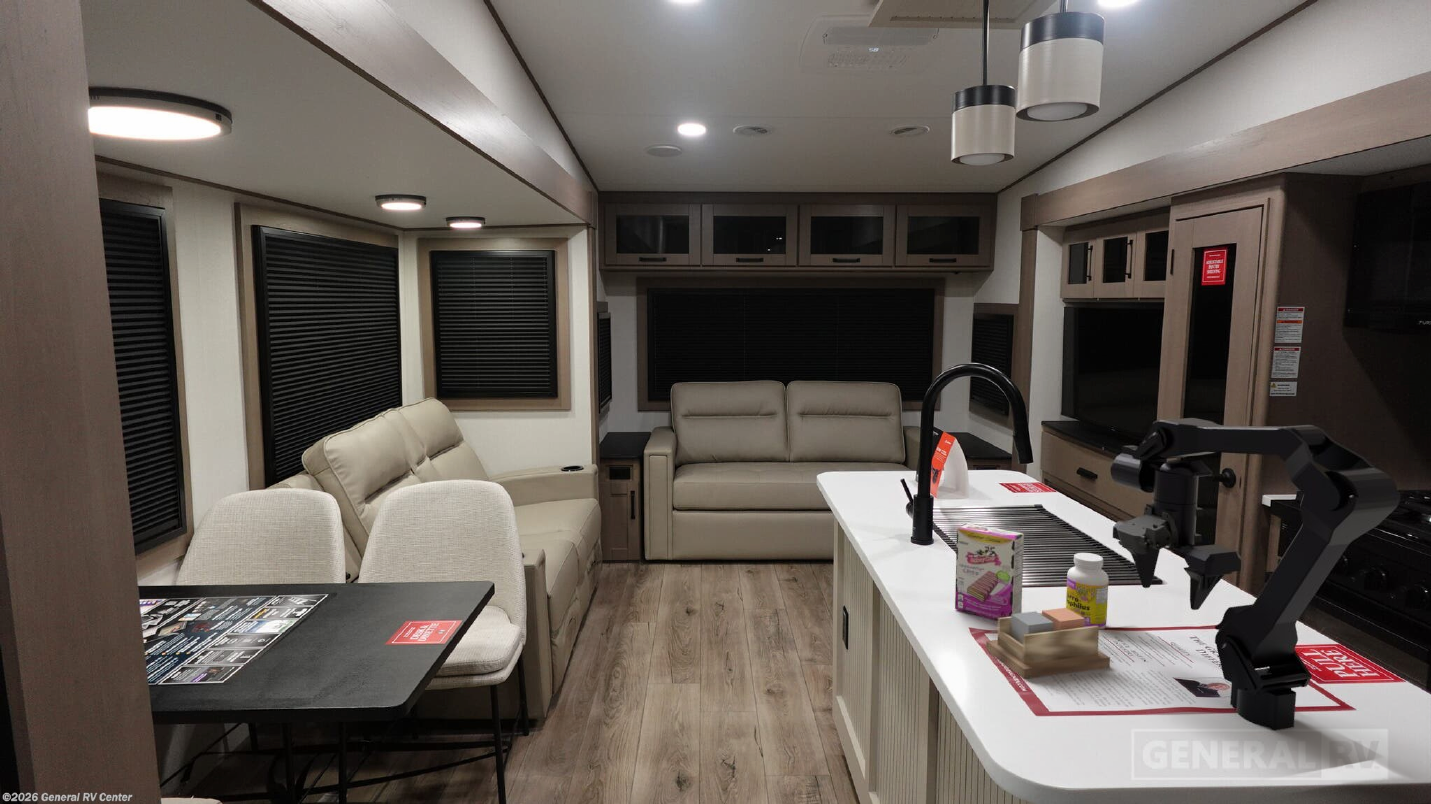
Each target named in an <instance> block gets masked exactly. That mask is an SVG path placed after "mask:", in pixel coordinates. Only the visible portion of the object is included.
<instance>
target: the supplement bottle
mask: <svg viewBox="0 0 1431 804" xmlns="http://www.w3.org/2000/svg"><path fill="white" fill-rule="evenodd" d="M1073 562H1074V566H1072V567H1071V568H1069V569H1068V571H1067V574H1066V575H1067V576H1066V599H1065V608H1067V609H1069V610H1071V611H1073V612H1074V613H1076V614H1078V615H1080V616H1081V617H1083V618H1085V627H1089V626H1098V627H1099V631H1100V630H1105V628H1106V626H1107V621H1108V619H1107V617H1108V599H1109V597H1108V595H1109V575H1108V574H1107V572H1105V571H1104V570H1103V569H1102V568H1103V566H1104V558H1103V556H1102V555H1101V556H1100V555H1099V554H1095V553H1090V552H1077V553H1075V554H1074V555H1073Z"/></svg>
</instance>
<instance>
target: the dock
mask: <svg viewBox="0 0 1431 804" xmlns="http://www.w3.org/2000/svg"><path fill="white" fill-rule="evenodd" d="M985 651H986V652H988V653H989V654H991V655H992V656H993V657H995V659H997V660H999V661H1000V662H1001V663H1003V664H1004V665H1005V666H1007V667H1008V668H1009V669H1010V670H1012V671H1013V672H1014V673H1015V674H1017V675H1018V676H1019V677H1021V678H1022V679H1024V680H1027V679H1028V680H1029V679H1034V678H1041V677H1048V676H1057V675H1063V674H1069V673H1077V672H1085V671H1092V670H1098V669H1104V668H1107V669H1108V668H1110V665H1111V657H1110V656H1108V655H1107V654H1105V653H1104V652H1102V651H1100V650H1098V654H1096V655H1089V656H1081V657H1074V658H1066V659H1059V660H1051V661H1044V662H1037V663H1029V664H1023V663H1022V662H1021V661H1019V660H1018V659H1017V658H1015V657H1014V656H1012V655H1011V654H1010V653H1008V652H1007V651H1006V650H1004V649H1003V648H1002V647H1000V646H999V645H998V639H992V640H986V648H985Z"/></svg>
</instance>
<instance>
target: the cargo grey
mask: <svg viewBox="0 0 1431 804" xmlns="http://www.w3.org/2000/svg"><path fill="white" fill-rule="evenodd" d="M1039 613H1040V612H1038V611H1027V612H1021V613H1017V614H1011V637H1012V638H1014V639H1015V640H1016V641H1018V642H1019V643H1021V644H1022V645H1023V635H1025V634H1033V633H1041V632H1049V631H1053V624H1054V622H1052V621H1051V620H1049V619H1047V618H1046V617H1044V616H1042V615H1041V614H1039Z"/></svg>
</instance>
